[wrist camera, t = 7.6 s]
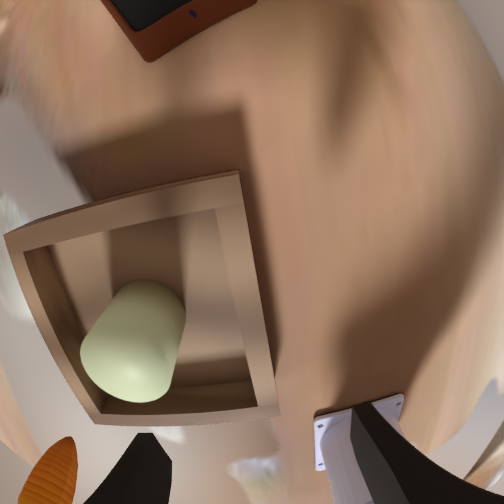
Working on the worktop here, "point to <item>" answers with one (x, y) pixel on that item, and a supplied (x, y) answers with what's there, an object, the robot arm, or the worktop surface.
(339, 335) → the worktop surface
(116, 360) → the green cylinder
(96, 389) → the walnut tray
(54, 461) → the carrot
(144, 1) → the smartphone
